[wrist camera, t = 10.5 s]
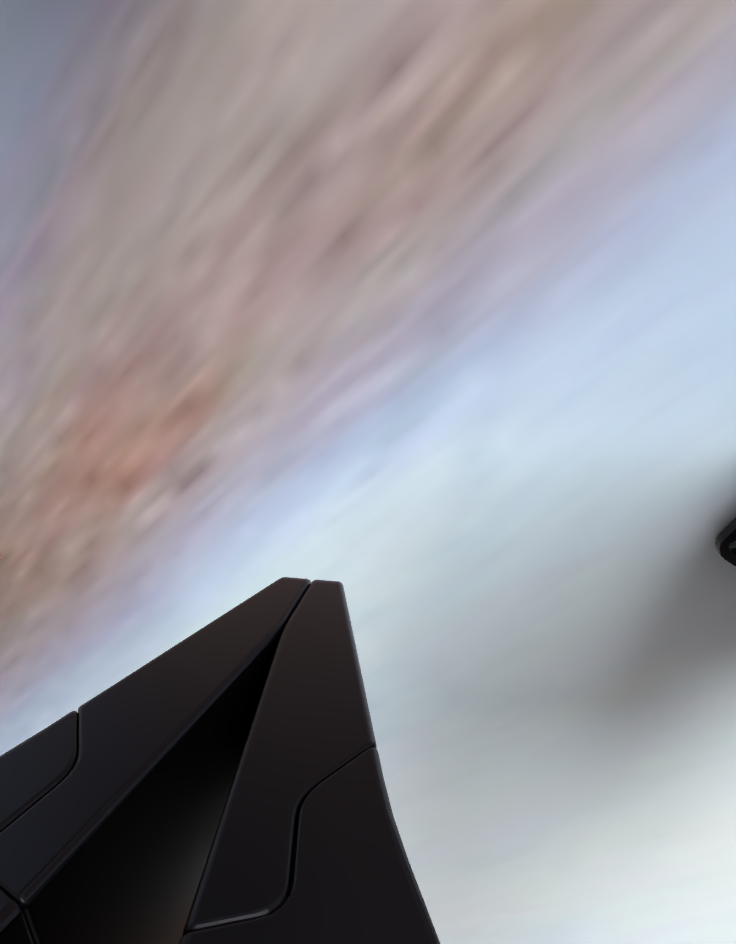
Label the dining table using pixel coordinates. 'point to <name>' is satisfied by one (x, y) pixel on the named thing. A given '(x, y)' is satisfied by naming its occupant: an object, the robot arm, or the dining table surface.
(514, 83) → the dining table surface
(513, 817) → the dining table surface
